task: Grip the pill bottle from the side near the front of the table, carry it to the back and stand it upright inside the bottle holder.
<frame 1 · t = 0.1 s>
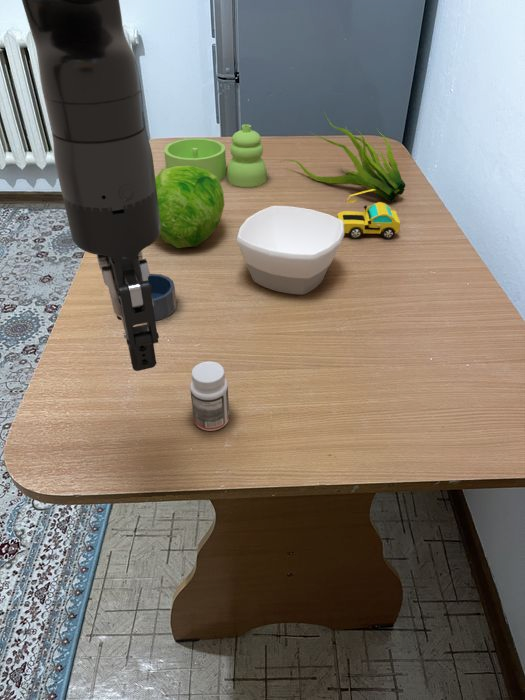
hand: (135, 340, 56), 19 cm above the table, tool pointing down, fingers open, 8 cm apart
bottle holder: (151, 307, 94), on the table
lettuce: (189, 231, 116), on the table
bowl: (289, 276, 102), on the table
decorative plant: (339, 186, 134), on the table
food container: (216, 176, 138), on the table
pill bottle: (211, 419, 75), on the table
toy car: (366, 233, 116), on the table
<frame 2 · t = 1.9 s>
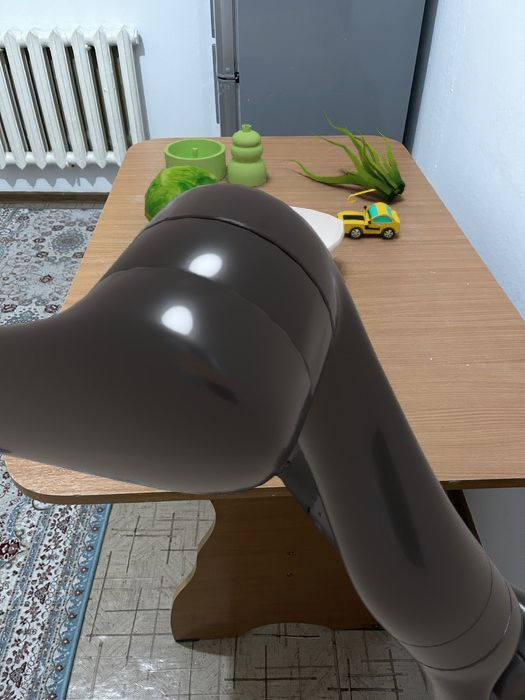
hand: (252, 386, 58), 14 cm above the table, tool horizontal, fingers open, 8 cm apart
nothing on the table moved.
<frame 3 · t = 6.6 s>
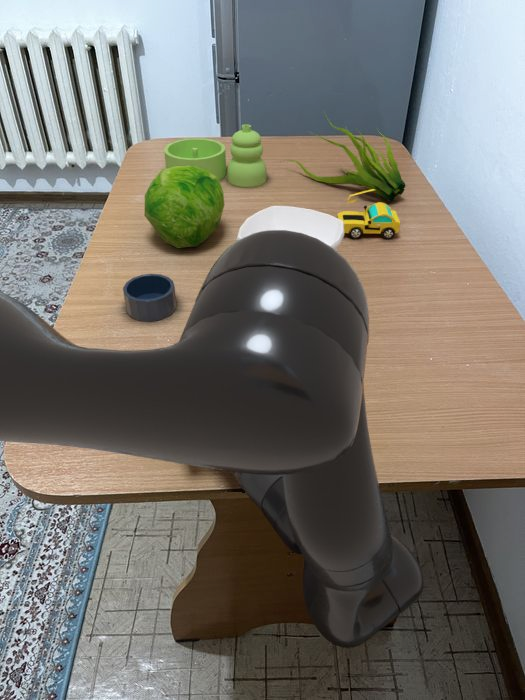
hand: (199, 373, 72), 6 cm above the table, tool horizontal, fingers closed on pill bottle, 4 cm apart
pill bottle: (211, 419, 75), on the table, touching gripper
everything else where it was.
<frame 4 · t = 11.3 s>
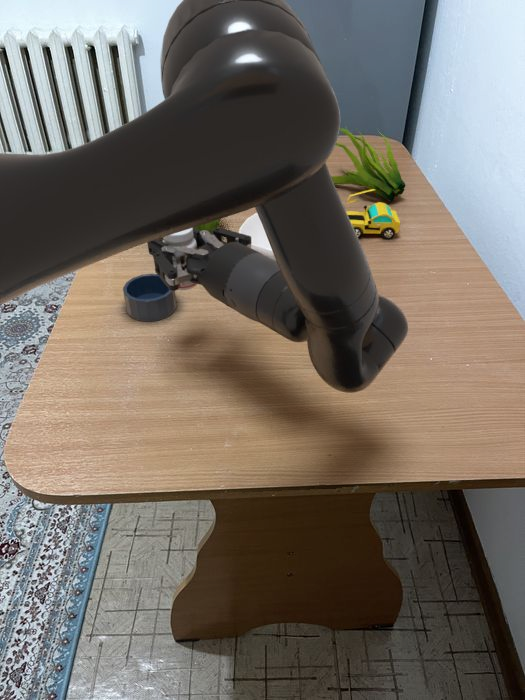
hand: (167, 237, 78), 17 cm above the table, tool horizontal, fingers closed on pill bottle, 4 cm apart
pill bottle: (183, 283, 80), point 11 cm above the table, touching gripper
everything else where it was.
when the fingers open (7 cm above the table, at t = 16.4 s): pill bottle stays where it is, resting on bottle holder.
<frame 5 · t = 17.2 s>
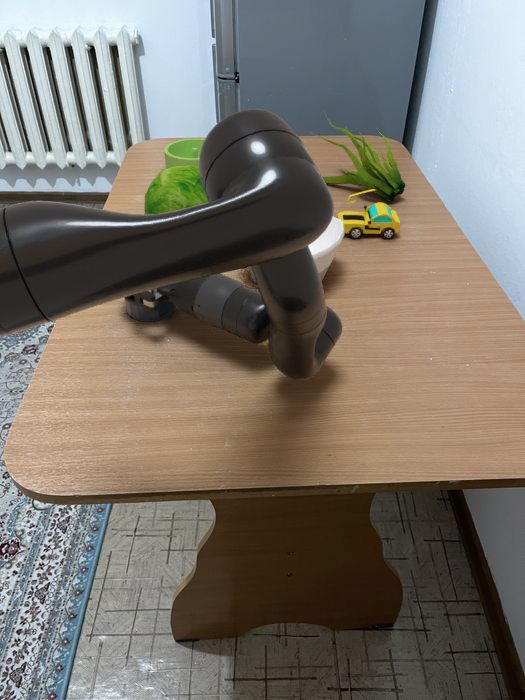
hand: (137, 263, 91), 8 cm above the table, tool horizontal, fingers open, 8 cm apart
pill bottle: (152, 305, 94), resting on bottle holder
everything else where it was.
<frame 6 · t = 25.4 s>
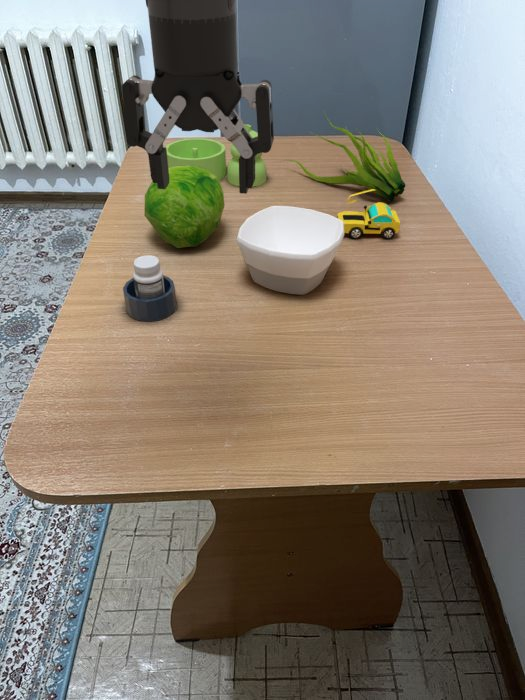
hand: (203, 188, 59), 30 cm above the table, tool pointing down, fingers open, 8 cm apart
nothing on the table moved.
at the end: pill bottle 0.2 cm off-centre in the bottle holder, point 0.3 cm above the bottle holder's base; pill bottle tilted 0°; the gripper is holding nothing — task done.
